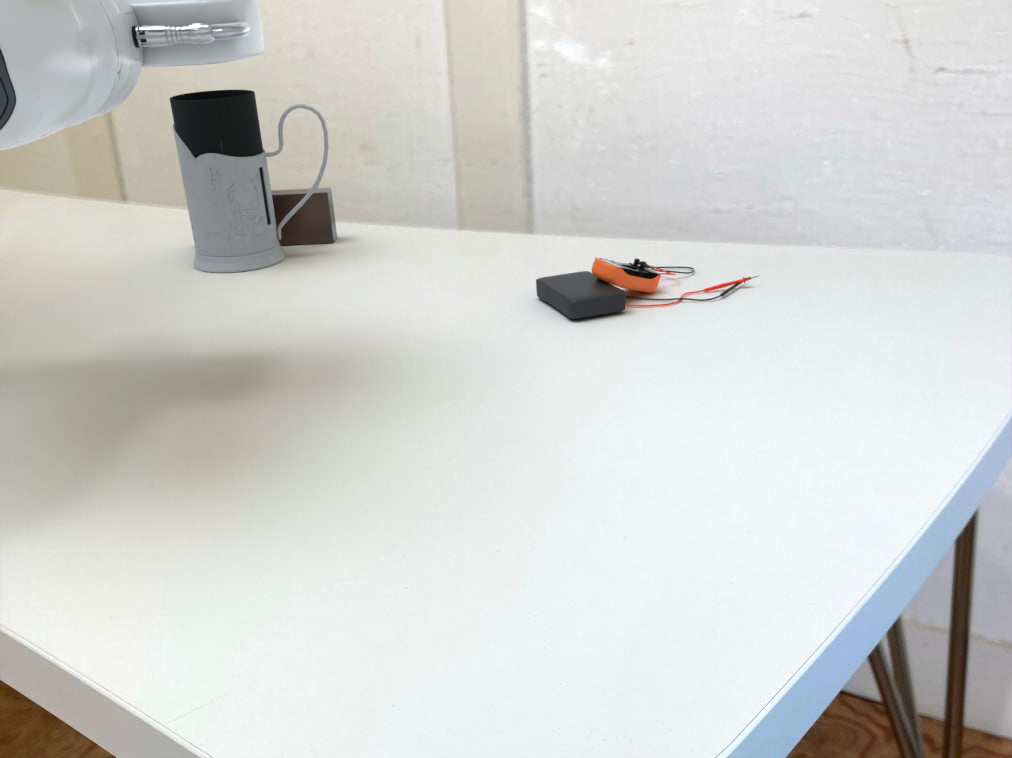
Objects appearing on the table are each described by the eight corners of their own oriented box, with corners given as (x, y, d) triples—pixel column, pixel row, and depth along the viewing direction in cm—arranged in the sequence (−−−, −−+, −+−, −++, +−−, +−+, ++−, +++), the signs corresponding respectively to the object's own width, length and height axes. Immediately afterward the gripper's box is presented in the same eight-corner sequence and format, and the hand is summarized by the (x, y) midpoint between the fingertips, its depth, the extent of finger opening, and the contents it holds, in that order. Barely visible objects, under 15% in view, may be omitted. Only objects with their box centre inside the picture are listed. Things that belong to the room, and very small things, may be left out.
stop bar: (196, 249, 107) (186, 199, 105) (202, 243, 110) (193, 194, 107) (333, 243, 107) (327, 192, 105) (337, 237, 109) (331, 187, 107)
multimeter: (710, 258, 95) (712, 219, 94) (777, 293, 85) (780, 250, 83) (518, 283, 91) (517, 243, 89) (564, 323, 81) (563, 279, 79)
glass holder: (201, 252, 106) (171, 92, 99) (343, 242, 107) (324, 83, 100) (186, 275, 98) (153, 103, 91) (340, 264, 99) (319, 93, 92)
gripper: (227, -30, 59) (276, -33, 72) (-133, -12, 60) (-23, -18, 72) (245, 91, 62) (290, 68, 75) (-98, 107, 63) (2, 81, 75)
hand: (133, 26), depth 73 cm, fingers closed
